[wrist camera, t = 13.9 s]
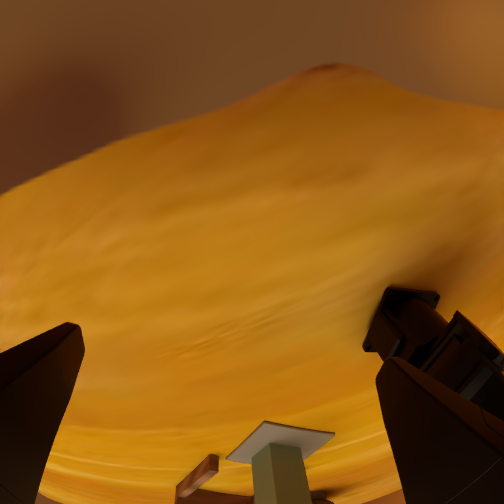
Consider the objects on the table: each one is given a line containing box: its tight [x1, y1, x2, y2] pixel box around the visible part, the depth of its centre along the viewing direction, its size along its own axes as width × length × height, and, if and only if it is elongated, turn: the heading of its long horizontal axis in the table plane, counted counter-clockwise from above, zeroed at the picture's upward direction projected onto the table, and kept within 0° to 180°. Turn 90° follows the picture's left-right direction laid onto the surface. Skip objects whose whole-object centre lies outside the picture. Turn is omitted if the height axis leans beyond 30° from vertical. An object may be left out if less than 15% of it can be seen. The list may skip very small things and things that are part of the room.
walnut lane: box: [175, 455, 255, 504], centre depth 31 cm, size 15×14×5 cm
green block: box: [251, 443, 312, 504], centre depth 25 cm, size 4×4×10 cm
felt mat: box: [226, 421, 335, 464], centre depth 29 cm, size 10×10×1 cm
